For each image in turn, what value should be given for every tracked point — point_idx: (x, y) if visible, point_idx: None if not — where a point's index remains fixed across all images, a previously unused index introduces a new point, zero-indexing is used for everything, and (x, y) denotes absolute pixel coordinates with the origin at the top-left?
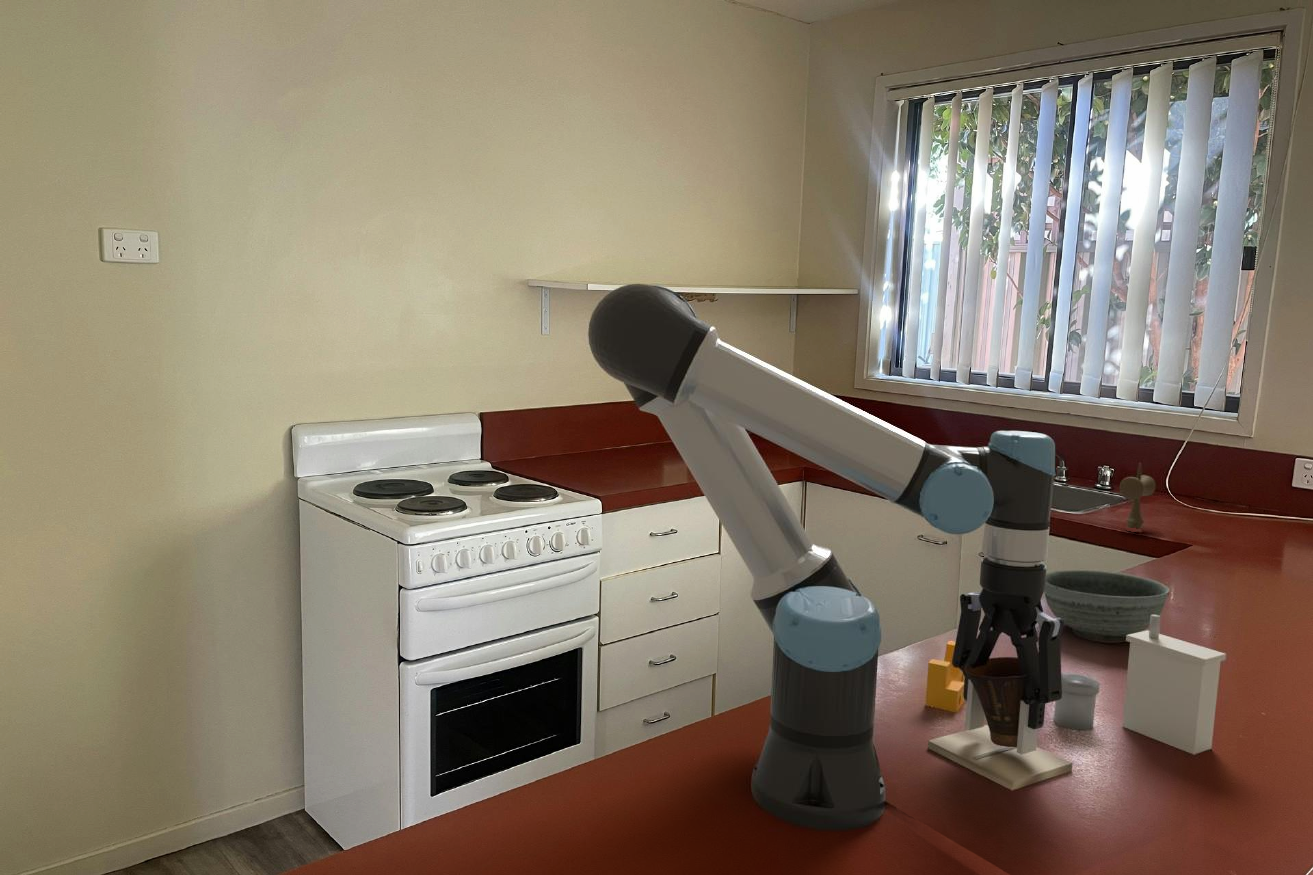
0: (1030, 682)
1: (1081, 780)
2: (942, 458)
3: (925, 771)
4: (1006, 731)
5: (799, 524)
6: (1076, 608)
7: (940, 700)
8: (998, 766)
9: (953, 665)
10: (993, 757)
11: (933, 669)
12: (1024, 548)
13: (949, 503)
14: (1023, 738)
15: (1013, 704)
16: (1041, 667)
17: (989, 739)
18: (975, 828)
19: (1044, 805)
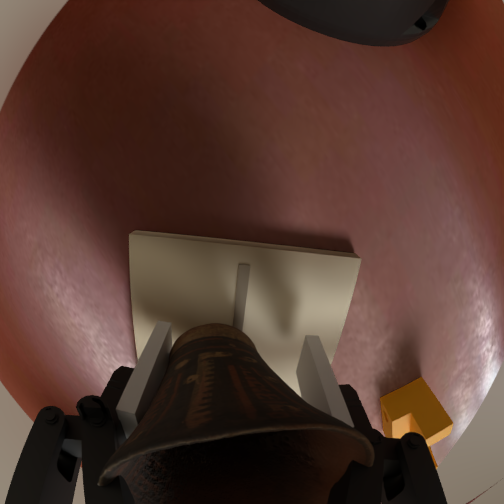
0: (86, 461)
1: (116, 356)
2: None
3: (293, 149)
4: (191, 345)
5: None
6: None
7: (408, 395)
8: (190, 274)
9: (415, 433)
10: (224, 303)
11: (441, 421)
12: None
13: None
14: (147, 343)
15: (156, 398)
16: (29, 495)
17: (281, 361)
18: (98, 56)
19: (78, 229)
